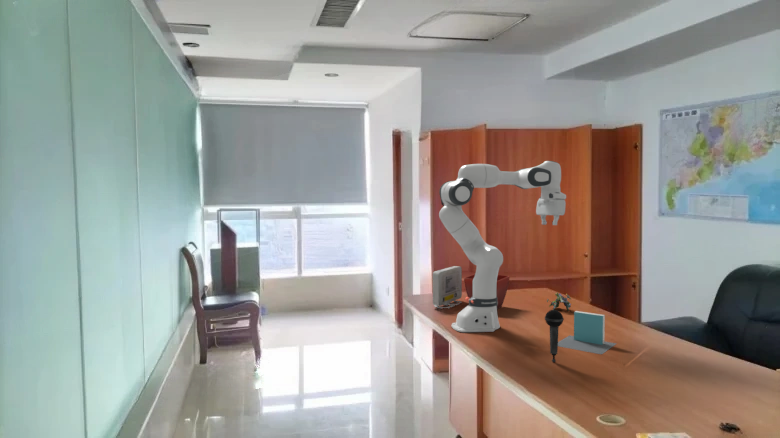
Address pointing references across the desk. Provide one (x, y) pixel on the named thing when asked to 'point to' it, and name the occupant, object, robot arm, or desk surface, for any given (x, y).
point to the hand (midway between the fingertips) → (549, 224)
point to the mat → (585, 345)
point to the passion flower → (560, 299)
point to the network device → (447, 286)
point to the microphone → (554, 329)
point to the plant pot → (500, 290)
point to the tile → (589, 327)
